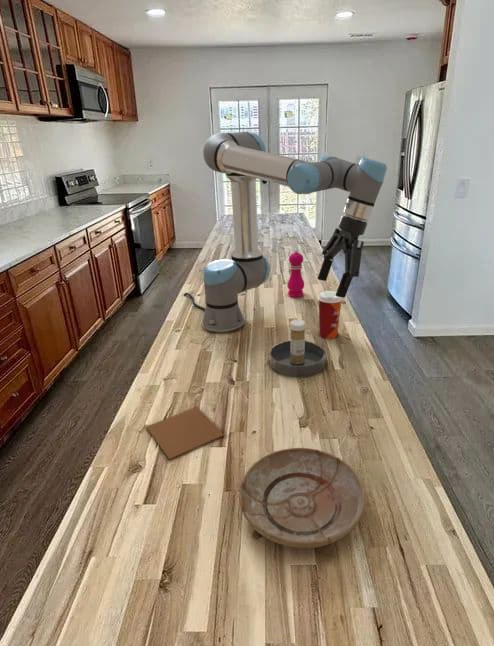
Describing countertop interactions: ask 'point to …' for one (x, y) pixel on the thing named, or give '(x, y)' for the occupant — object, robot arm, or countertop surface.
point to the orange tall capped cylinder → (329, 313)
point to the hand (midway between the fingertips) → (330, 288)
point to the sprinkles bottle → (297, 341)
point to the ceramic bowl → (302, 497)
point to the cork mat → (184, 432)
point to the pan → (282, 364)
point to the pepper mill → (295, 275)
